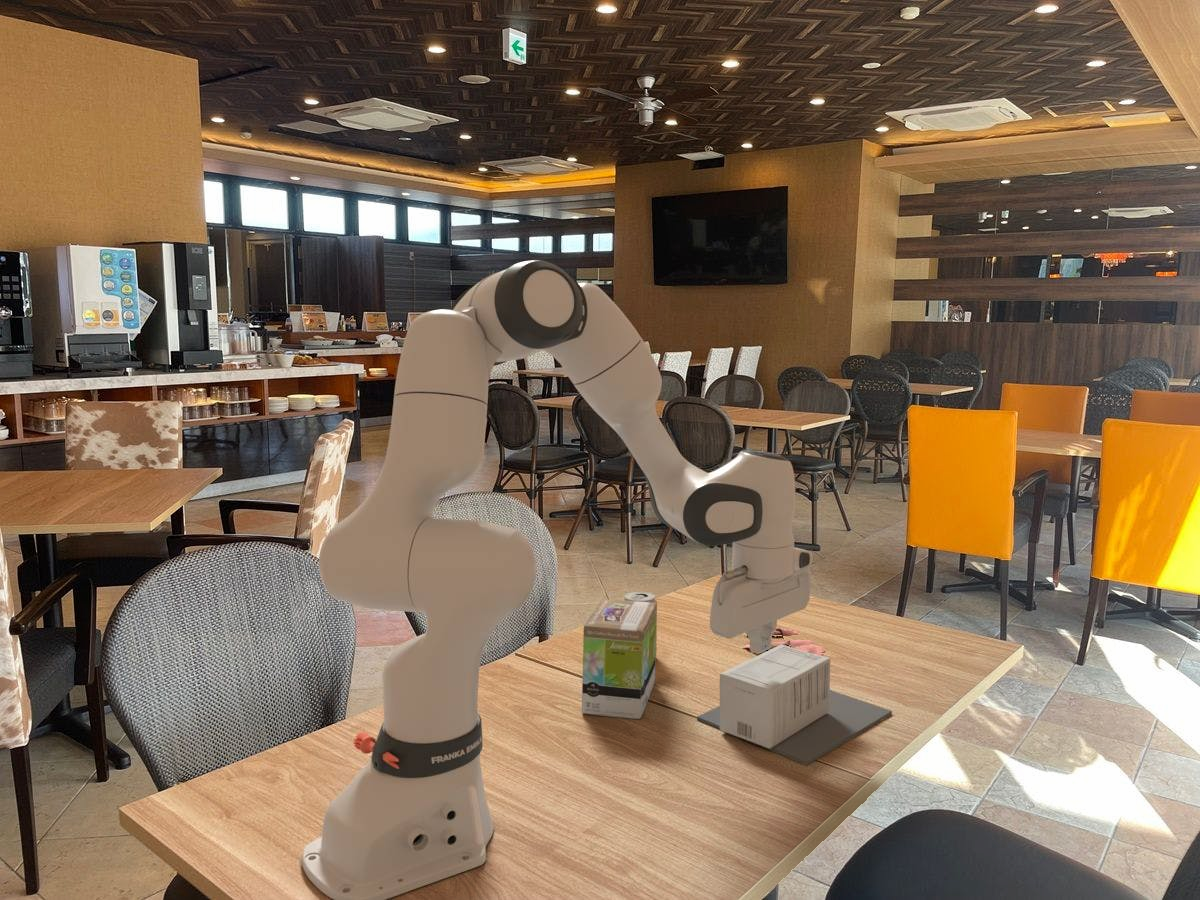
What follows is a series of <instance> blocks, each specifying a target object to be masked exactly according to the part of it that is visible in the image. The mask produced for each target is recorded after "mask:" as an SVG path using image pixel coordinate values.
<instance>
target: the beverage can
mask: <svg viewBox="0 0 1200 900" xmlns="http://www.w3.org/2000/svg"><path fill="white" fill-rule="evenodd" d="M623 601H637V602H650V603H656V604H657V605H658V602H657V600H656V595H655V594H654V593H652V592H649V591H630V592H627V593H625V594H624V596H623ZM657 625H658V621H657V622H656V653H657V650H658V649H657V648H658V647H657V640H658V639H657V637H658V636H657V635H658V632H657V631H658V629H657V628H658V627H657Z"/></svg>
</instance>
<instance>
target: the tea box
mask: <svg viewBox="0 0 1200 900" xmlns="http://www.w3.org/2000/svg"><path fill="white" fill-rule="evenodd" d="M623 600H624V599H623ZM623 600H620V599H607V598H602V599H601V600H600V601H599V603H598V604H597V606H596V607H595V609H594V611H593V612H592V613H591V615H590V616H589V617H588V619H587V620H586V622H585V623H584V625H583V637H582V639H583V641H582V642H583V643H582V645H583V648H582V649H583V650H582V678H581V679H582V685H581V687H582V688H581V689H582V690H581V691H582V693H581V714H585V715H591V716H592V715H594V716H603V717H612V718H621V719H622V718H623V719H632V720H633V719H635V720H640V719H641V718H642V716H643V714H644V711H645V708H646V706H647V704H648V701H649V698H650V696H651V693H652V690H653V688H654V684H655V681H656V657H657V652H656V622H657V623H658V620H657V619H658V603H657V604H656V603H650V602H637V601H623Z"/></svg>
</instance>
